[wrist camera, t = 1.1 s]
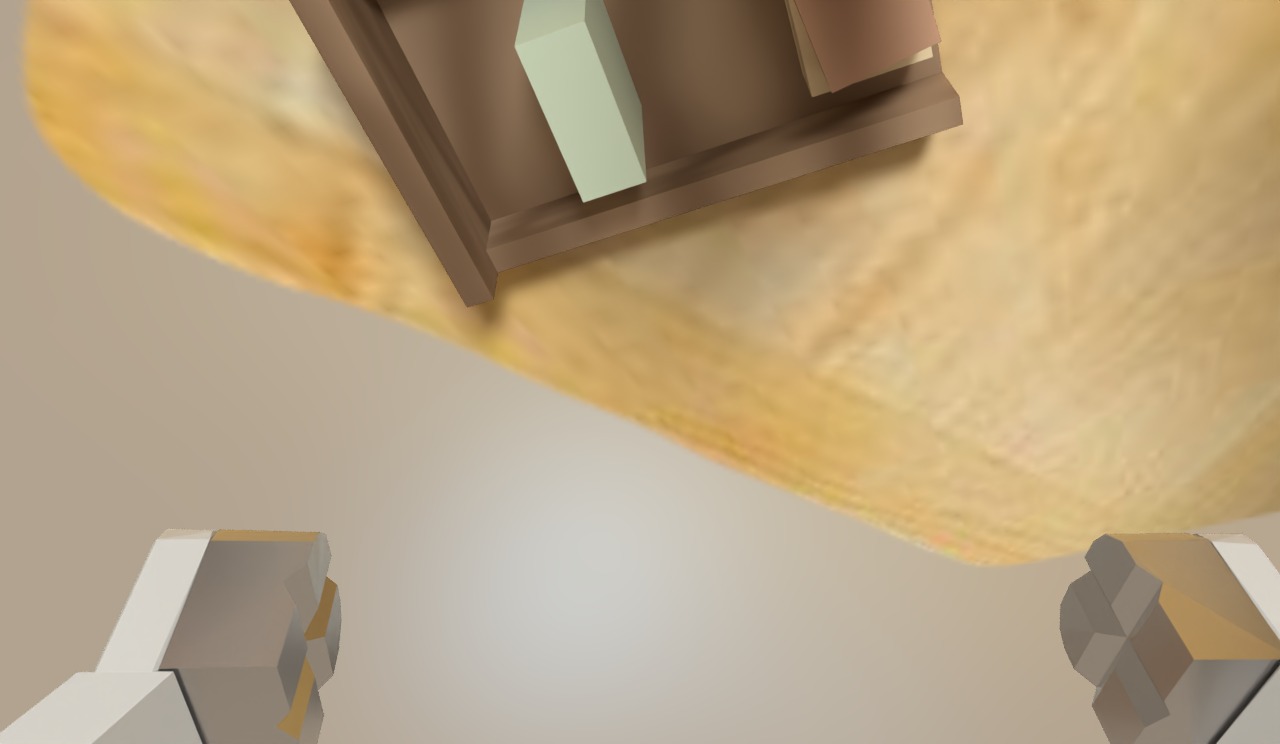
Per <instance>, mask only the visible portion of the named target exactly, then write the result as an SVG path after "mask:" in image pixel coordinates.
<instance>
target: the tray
mask: <svg viewBox="0 0 1280 744" xmlns="http://www.w3.org/2000/svg"><path fill="white" fill-rule="evenodd" d="M289 1H290V2H291V4H292V6H293V8H294V9H295V11H296V13H297V15H298V16H299V18H300V20H301V21H302V23H303V25H304V27H305V28H306V30H307V32H308V34H309V35H310V37H311V39H312V40H313V42H314V44H315V46H316V47H317V49H318V51H319V53H320V54H321V56H322V58H323V59H324V61H325V63H326V65H327V66H328V68H329V70H330V72H331V73H332V75H333V77H334V78H335V80H336V82H337V84H338V85H339V87H340V89H341V91H342V92H343V94H344V96H345V97H346V99H347V101H348V103H349V104H350V106H351V108H352V110H353V111H354V113H355V115H356V116H357V118H358V120H359V122H360V123H361V125H362V127H363V129H364V130H365V132H366V134H367V135H368V137H369V139H370V141H371V142H372V144H373V146H374V147H375V149H376V151H377V153H378V154H379V156H380V158H381V160H382V161H383V163H384V165H385V166H386V168H387V170H388V172H389V173H390V175H391V177H392V179H393V180H394V182H395V184H396V185H397V187H398V189H399V191H400V192H401V194H402V196H403V198H404V199H405V201H406V203H407V204H408V206H409V208H410V210H411V211H412V213H413V215H414V217H415V218H416V220H417V222H418V223H419V225H420V227H421V229H422V230H423V232H424V234H425V236H426V237H427V239H428V241H429V242H430V244H431V246H432V248H433V249H434V251H435V253H436V255H437V256H438V258H439V260H440V261H441V263H442V265H443V267H444V268H445V270H446V272H447V274H448V275H449V277H450V279H451V280H452V282H453V284H454V286H455V287H456V289H457V291H458V292H459V294H460V296H461V298H462V299H463V301H464V303H465V305H466V306H467V308H468V307H471V306H474V305H477V304H480V303H484V302H487V301H490V300H493V299H494V294H495V288H496V282H497V276H498V272H501V271H504V270H507V269H511V268H514V267H517V266H520V265H523V264H526V263H529V262H533V261H536V260H539V259H542V258H545V257H548V256H551V255H555V254H558V253H561V252H564V251H567V250H570V249H573V248H576V247H580V246H583V245H586V244H589V243H592V242H595V241H598V240H602V239H605V238H608V237H611V236H614V235H617V234H620V233H624V232H627V231H630V230H633V229H636V228H639V227H642V226H646V225H649V224H652V223H655V222H658V221H661V220H664V219H667V218H671V217H674V216H677V215H680V214H683V213H686V212H689V211H693V210H696V209H699V208H702V207H705V206H708V205H711V204H715V203H718V202H721V201H724V200H727V199H730V198H733V197H736V196H740V195H743V194H746V193H749V192H752V191H755V190H758V189H762V188H765V187H768V186H771V185H774V184H777V183H780V182H784V181H787V180H790V179H793V178H796V177H799V176H802V175H806V174H809V173H812V172H815V171H818V170H821V169H824V168H827V167H831V166H834V165H837V164H840V163H843V162H846V161H849V160H853V159H856V158H859V157H862V156H865V155H868V154H871V153H875V152H878V151H881V150H884V149H887V148H890V147H893V146H896V145H900V144H903V143H906V142H909V141H912V140H915V139H918V138H922V137H925V136H928V135H931V134H934V133H937V132H940V131H944V130H947V129H950V128H953V127H956V126H959V125H962V124H963V119H962V112H961V105H960V97H959V95H958V94H957V92H956V91H955V90H954V88H953V87H952V85H951V84H950V82H949V81H948V80H947V78H946V77H945V75H944V74H943V73H942V68H941V61H940V54H939V48H938V43H937V44H935V45H933V46H931V48H932V54H933V57H931V58H928V59H925V60H922V61H919V62H916V63H913V64H910V65H907V66H904V67H901V68H898V69H895V70H892V71H889V72H886V73H883V74H880V75H877V76H874V77H871V78H868V79H865V80H862V81H859V82H856V83H853V84H851V85H849V86H847V87H845V88H842V89H840V90H838V91H836V92H834V93H832V92H831V91H830V92H827V93H824V94H821V95H818V96H815V97H812V96H811V93H810V91H809V88H808V86H807V83H806V81H805V78H804V76H803V73H802V69H801V65H800V61H799V57H798V53H797V49H796V44H795V40H794V36H793V32H792V28H791V24H790V20H789V16H788V12H787V8H786V4H785V0H603V2H604V5H605V8H606V10H607V13H608V16H609V18H610V21H611V24H612V27H613V29H614V32H615V35H616V37H617V40H618V43H619V46H620V48H621V51H622V54H623V56H624V59H625V62H626V65H627V67H628V70H629V73H630V75H631V78H632V81H633V84H634V86H635V89H636V92H637V94H638V97H639V100H640V103H641V105H642V120H643V135H644V150H645V165H646V180H647V182H645V183H642V184H639V185H636V186H633V187H629V188H626V189H623V190H620V191H617V192H614V193H611V194H608V195H605V196H602V197H599V198H596V199H593V200H590V201H587V202H584V203H583V201H582V198H581V196H580V194H579V192H578V189H577V187H576V185H575V183H574V180H573V178H572V176H571V174H570V171H569V169H568V167H567V164H566V162H565V160H564V158H563V155H562V153H561V151H560V149H559V146H558V144H557V142H556V140H555V137H554V135H553V133H552V130H551V128H550V126H549V124H548V121H547V119H546V117H545V115H544V112H543V110H542V108H541V106H540V103H539V101H538V99H537V97H536V94H535V92H534V90H533V87H532V85H531V83H530V81H529V78H528V76H527V74H526V72H525V69H524V67H523V65H522V63H521V60H520V58H519V56H518V54H517V51H516V49H515V47H514V46H515V41H516V36H517V32H518V27H519V22H520V17H521V12H522V8H523V3H524V0H289ZM929 2H930V6H931V9H932V12H933V7H932V0H929ZM933 15H934V14H933Z"/></svg>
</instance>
